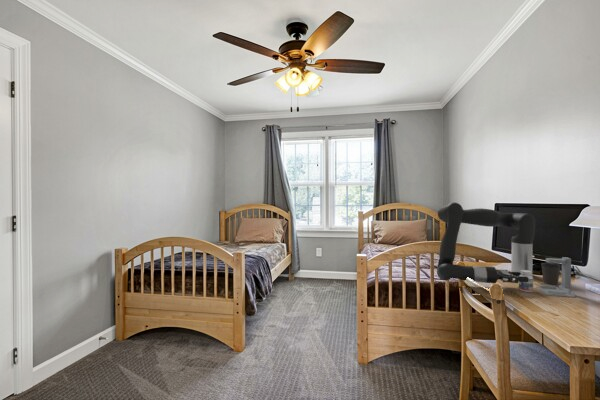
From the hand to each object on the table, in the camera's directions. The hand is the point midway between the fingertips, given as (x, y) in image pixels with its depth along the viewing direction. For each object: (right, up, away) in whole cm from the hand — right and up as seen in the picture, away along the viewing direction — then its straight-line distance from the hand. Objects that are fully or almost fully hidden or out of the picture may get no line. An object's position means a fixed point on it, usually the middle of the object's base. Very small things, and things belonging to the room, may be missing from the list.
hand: (524, 277), depth 138 cm
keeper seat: (+11, -6, -3) cm, 13 cm away
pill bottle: (+1, -6, 0) cm, 6 cm away
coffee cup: (+21, -6, +10) cm, 24 cm away
